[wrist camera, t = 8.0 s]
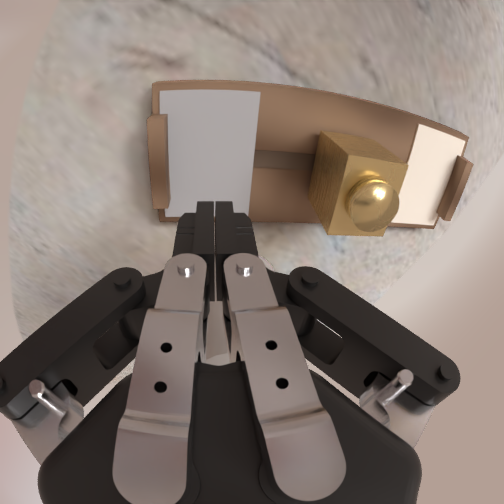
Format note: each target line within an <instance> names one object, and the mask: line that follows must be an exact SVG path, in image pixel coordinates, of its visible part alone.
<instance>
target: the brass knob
mask: <svg viewBox="0 0 504 504" xmlns="http://www.w3.org/2000/svg"><path fill="white" fill-rule="evenodd" d="M408 166H409V165H407V164H406V163H405V162H404V161H402V160H401V159H400V158H398V157H397V156H396V155H394V154H393V153H392V152H390V151H389V150H388V149H386V148H385V147H383V146H382V145H381V144H379V143H378V142H376V141H375V140H374V139H369V138H364V137H359V136H354V135H348V134H342V133H336V132H329V131H322V130H320V135H319V141H318V146H317V151H316V156H315V161H314V167H313V172H312V176H311V181H310V186H309V191H308V196H307V198H308V200H309V202H310V203H311V205H312V207H313V209H314V211H315V212H316V214H317V216H318V218H319V220H320V222H321V224H322V226H323V227H324V229H325V231H326V233H327V235H351V236H383V235H384V233H385V230H386V228H387V225H388V224H389V223H390V222H391V221H392V220H393V219H394V218H395V216H396V214H397V212H398V209H399V203H400V202H399V193H400V190H401V187H402V185H403V182H404V179H405V176H406V173H407V169H408Z"/></svg>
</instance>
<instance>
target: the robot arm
mask: <svg viewBox="0 0 504 504" xmlns="http://www.w3.org/2000/svg"><path fill="white" fill-rule="evenodd" d="M215 267H216V297H217V301H222V306H223V324H224V331H225V337H226V343H227V349H228V354H229V361H230V363H229V364H225V365H221V366H217V365H212V364H207V363H206V349H207V334H208V320H209V318H208V315H209V313H210V301H215ZM317 319H318V320H319V321H321V322H322V323H324V324H325V325H326V326H328V327H329V328H330V329H332V330H333V331H335V332H336V333H337V334H339V335H340V336H341V337H342V338H341V337H340V336H338V335H337V334H335V333H334V332H333V331H331V330H330V329H329V328H327V327H326V326H324V325H323V324H322V323H320V322H319V321H318V320H317ZM109 328H110V329H109ZM135 357H136V358H135ZM134 358H135V363H134V368H133V373H131V374H130V375H128V376H126V377H125V378H123V379H122V380H121V381H120V382H119V383H118V384H116V385H115V387H114V388H113V389H112V390H111V391H110V392H109V393H108V394H107V395H106V396H105V397H104V398H103V399H102V400H101V401H100V402H99V403H98V404H97V405H96V406H95V407H94V408H93V410H91V411H90V412H89V414H88V415H87V416H86V417H85V418H84V410H83V407H84V406H85V405H86V404H87V403H88V402H89V401H90V400H91V399H92V398H93V397H94V396H95V395H96V394H98V393H99V392H100V391H101V390H102V389H103V388H104V387H105V386H106V385H107V384H108V383H109V382H110V381H111V380H112V379H113V378H114V377H115V376H116V375H118V374H119V373H120V372H121V371H122V370H123V369H124V368H125V367H126V366H127V365H128V364H129V363H130V362H131V361H132V360H133V359H134ZM305 358H306V359H307V360H308V361H310V362H311V363H312V364H313V365H315V366H316V367H317V368H319V369H320V370H321V371H323V372H324V373H325V374H327V375H328V376H329V377H330V378H332V379H333V380H334V381H336V382H337V383H339V384H340V385H341V386H342V387H344V388H345V389H346V390H348V391H349V392H350V393H352V394H353V395H355V396H356V397H357V398H359V399H360V400H359V404H360V407H359V406H358V405H357V404H355V403H354V402H353V401H352V400H350V399H349V398H348V397H346V396H345V395H344V394H343V393H341V392H340V391H339V390H338V389H336V388H335V387H334V386H333V385H332V384H330V383H329V382H328V381H326V380H325V379H324V378H323V377H322V376H320V375H318V374H317V373H315V372H314V371H312V370H310V369H308V366H307V363H306V360H305ZM459 384H460V373H459V370H458V368H457V366H456V364H455V363H454V362H453V361H452V360H451V359H450V358H448V357H447V356H445V355H444V354H442V353H441V352H440V351H438V350H437V349H435V348H434V347H432V346H431V345H429V344H428V343H427V342H425V341H424V340H423V339H421V338H420V337H418V336H417V335H415V334H414V333H412V332H411V331H410V330H408V329H407V328H405V327H404V326H402V325H401V324H399V323H398V322H396V321H395V320H393V319H392V318H390V317H389V316H387V315H386V314H385V313H383V312H382V311H380V310H379V309H377V308H376V307H374V306H373V305H371V304H370V303H368V302H367V301H365V300H364V299H362V298H361V297H359V296H358V295H356V294H355V293H353V292H352V291H350V290H349V289H347V288H346V287H344V286H343V285H341V284H340V283H338V282H337V281H335V280H334V279H332V278H331V277H329V276H328V275H326V274H325V273H323V272H322V271H320V270H318V269H316V268H313V267H306V266H304V267H298V268H296V269H294V270H293V271H292V272H291V273H290V275H286V274H282V273H277V272H274V271H272V270H270V269H268V268H266V267H265V264H264V262H263V261H262V260H261V259H260V258H259V256H258V251H257V246H256V241H255V237H254V232H253V228H252V222H251V219H250V218H249V217H248V216H247V215H246V214H245V213H234V210H233V202H232V201H215V245H214V201H197V207H196V213H184V214H183V215H182V216H181V217H180V218H179V220H178V226H177V231H176V237H175V243H174V250H173V256H172V258H171V259H170V260H169V261H168V262H167V263H166V266H165V269H164V270H162V271H161V272H158V273H155V274H152V275H148V276H144V277H142V274H141V273H140V272H139V271H138V270H136V269H134V268H128V267H125V268H119V269H116V270H114V271H112V272H111V273H109V274H108V275H107V276H105V277H104V278H103V279H101V280H100V281H98V282H97V283H96V284H94V285H93V286H92V287H90V288H89V289H88V290H86V291H85V292H84V293H83V294H81V295H80V296H79V297H77V298H76V299H75V300H73V301H72V302H71V303H70V304H68V305H67V306H66V307H65V308H63V309H62V310H61V311H60V312H58V313H57V314H56V315H55V316H53V317H52V318H51V319H50V320H48V321H47V322H46V323H45V324H44V325H42V326H41V327H40V328H39V329H37V330H36V331H35V332H34V333H33V334H32V335H30V336H29V337H28V338H27V339H26V340H25V341H23V342H22V343H21V344H20V345H19V346H18V347H17V348H16V349H14V350H13V351H12V352H11V353H10V354H9V355H8V356H7V357H5V358H4V359H3V360H2V361H1V362H0V412H1V413H3V414H4V416H6V417H7V418H8V419H10V420H11V421H12V423H13V424H14V426H15V428H16V429H17V431H18V433H19V434H20V436H21V438H22V439H23V441H24V442H25V444H26V445H27V447H28V448H29V449H30V451H31V453H32V454H33V455H34V457H35V458H36V460H37V461H38V462H39V464H40V465H41V467H40V470H39V474H38V489H39V494H40V497H41V500H42V502H43V504H416V501H417V495H418V491H419V487H420V483H421V477H422V470H421V463H420V460H419V457H418V455H417V453H416V452H415V450H414V447H415V446H416V444H417V442H418V440H419V438H420V436H421V434H422V433H423V431H424V429H425V427H426V425H427V423H428V421H429V418H430V417H431V414H432V412H433V410H434V408H435V406H436V405H437V404H439V403H440V402H441V401H442V400H444V399H445V398H446V397H448V396H449V395H450V394H451V393H453V392H454V391H455V390H456V389H457V388H458V386H459ZM83 418H84V419H83Z"/></svg>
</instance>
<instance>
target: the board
mask: <svg viewBox="0 0 504 504" xmlns="http://www.w3.org/2000/svg"><path fill="white" fill-rule="evenodd" d="M320 130H322V131H329V132H336V133H342V134H348V135H354V136H359V137H364V138H369V139H374V140H375V141H376V142H378V143H379V144H381V145H382V146H383V147H385V148H386V149H388V150H389V151H390V152H392V153H393V154H394V155H396V156H397V157H398V158H400V159H401V160H402V161H404V162H405V163H406V164H407V165H409V166H408V169H407V173H406V176H405V179H404V182H403V185H402V187H401V190H400V193H399V202H400V203H399V209H398V212H397V214H396V216H395V218H394V219H393V220H392V221H391V222H390V223H389V224H388V225H387V226H394V227H411V228H427V229H434V228H435V226H436V223H437V221H438V219H439V217H441V218H442V219H443V220H445V221H450V220H451V218H452V216H453V214H454V212H455V209H456V207H457V205H458V202H459V200H460V198H461V195H462V193H463V190H464V188H465V185H466V183H467V180H468V178H469V175H470V172H471V169H472V167H473V163H471V162H470V161H468V160H467V159H465V158H464V157H463V155H464V152H465V149H466V145H467V142H468V139H469V137H468V136H466V135H464V134H463V133H461V132H459V131H457V130H455V129H452V128H450V127H447V126H445V125H442V124H440V123H437V122H435V121H432V120H429V119H427V118H424V117H421V116H418V115H415V114H412V113H409V112H406V111H403V110H400V109H397V108H393V107H390V106H386V105H383V104H379V103H376V102H372V101H368V100H364V99H360V98H356V97H351V96H347V95H342V94H337V93H332V92H327V91H322V90H316V89H310V88H304V87H297V86H289V85H281V84H272V83H261V82H249V81H230V80H177V81H159V82H155V83H153V84H152V115H151V116H150V117H149V118H148V119H147V136H148V154H149V168H150V180H151V191H152V200H153V209H158V210H159V220H160V222H171V221H178V220H179V218H180V217H181V216H182V215H183V214H184V213H196V207H197V201H214V221H215V201H232V202H233V210H234V213H245V214H246V215H247V216H248V217H249V218H250V219H251V222H295V223H321V222H320V220H319V218H318V216H317V214H316V212H315V211H314V209H313V207H312V205H311V203H310V202H309V200H308V198H307V196H308V191H309V186H310V181H311V176H312V172H313V167H314V161H315V156H316V151H317V146H318V141H319V135H320Z"/></svg>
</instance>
